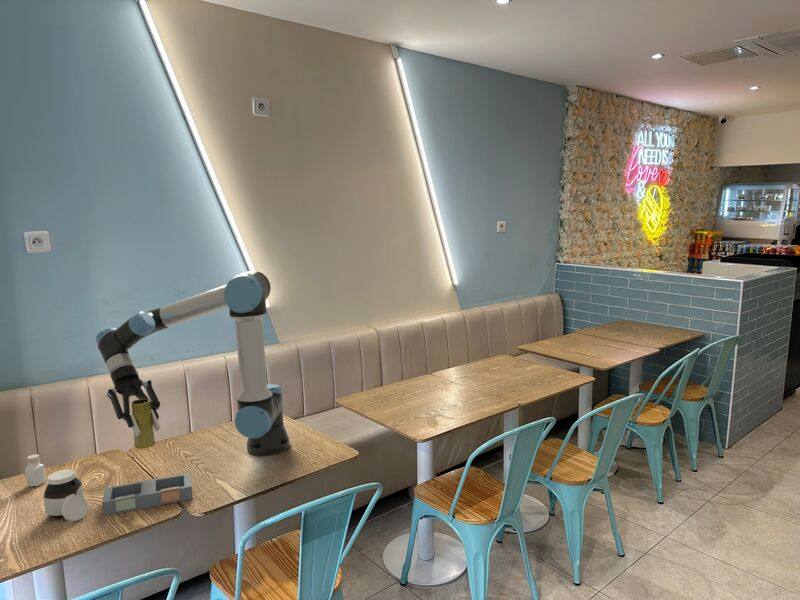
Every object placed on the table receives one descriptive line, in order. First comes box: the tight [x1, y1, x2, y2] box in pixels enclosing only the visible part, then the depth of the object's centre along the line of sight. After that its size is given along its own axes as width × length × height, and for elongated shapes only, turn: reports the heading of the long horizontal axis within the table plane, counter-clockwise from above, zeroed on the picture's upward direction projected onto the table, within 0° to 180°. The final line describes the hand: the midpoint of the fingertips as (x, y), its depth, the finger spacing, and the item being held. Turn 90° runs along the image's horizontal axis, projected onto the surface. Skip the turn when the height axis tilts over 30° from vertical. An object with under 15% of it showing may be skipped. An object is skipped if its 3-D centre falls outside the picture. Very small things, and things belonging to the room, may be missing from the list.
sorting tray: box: [101, 472, 193, 517], centre depth 174 cm, size 24×10×4 cm, turn 111°
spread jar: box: [43, 469, 89, 522], centre depth 166 cm, size 12×11×12 cm
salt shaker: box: [24, 453, 47, 487], centre depth 186 cm, size 4×4×10 cm
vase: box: [131, 398, 156, 450], centre depth 182 cm, size 6×6×14 cm
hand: (148, 431), depth 180 cm, fingers closed on vase, 5 cm apart
